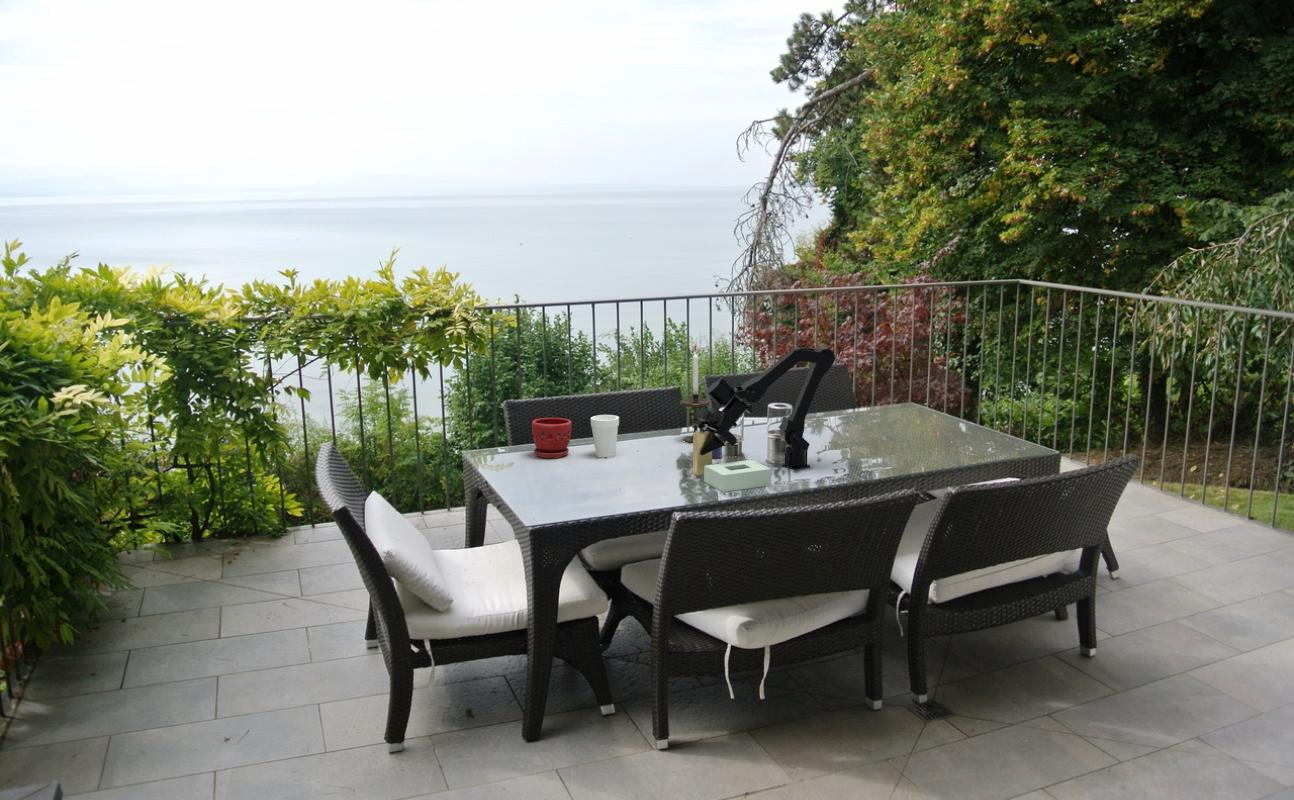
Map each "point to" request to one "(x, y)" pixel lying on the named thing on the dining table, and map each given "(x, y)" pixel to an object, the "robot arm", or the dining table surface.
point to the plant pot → (551, 437)
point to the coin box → (737, 475)
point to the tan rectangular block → (699, 459)
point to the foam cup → (605, 434)
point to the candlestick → (694, 398)
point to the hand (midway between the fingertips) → (698, 453)
